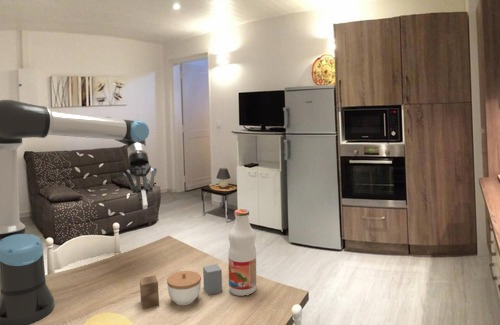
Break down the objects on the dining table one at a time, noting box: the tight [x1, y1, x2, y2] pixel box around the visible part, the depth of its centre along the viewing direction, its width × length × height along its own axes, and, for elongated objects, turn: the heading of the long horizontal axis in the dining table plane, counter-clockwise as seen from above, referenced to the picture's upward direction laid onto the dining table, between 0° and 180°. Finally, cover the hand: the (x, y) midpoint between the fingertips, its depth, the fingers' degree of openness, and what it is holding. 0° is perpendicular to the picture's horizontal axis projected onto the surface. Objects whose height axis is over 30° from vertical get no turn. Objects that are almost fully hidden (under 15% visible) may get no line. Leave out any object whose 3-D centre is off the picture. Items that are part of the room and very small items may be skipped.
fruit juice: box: [227, 208, 257, 297], centre depth 119 cm, size 9×9×28 cm
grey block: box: [202, 263, 223, 296], centre depth 121 cm, size 5×5×8 cm
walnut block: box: [139, 274, 160, 310], centre depth 113 cm, size 5×5×8 cm
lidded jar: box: [166, 270, 202, 306], centre depth 114 cm, size 11×11×9 cm
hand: (145, 206), depth 131 cm, fingers closed
